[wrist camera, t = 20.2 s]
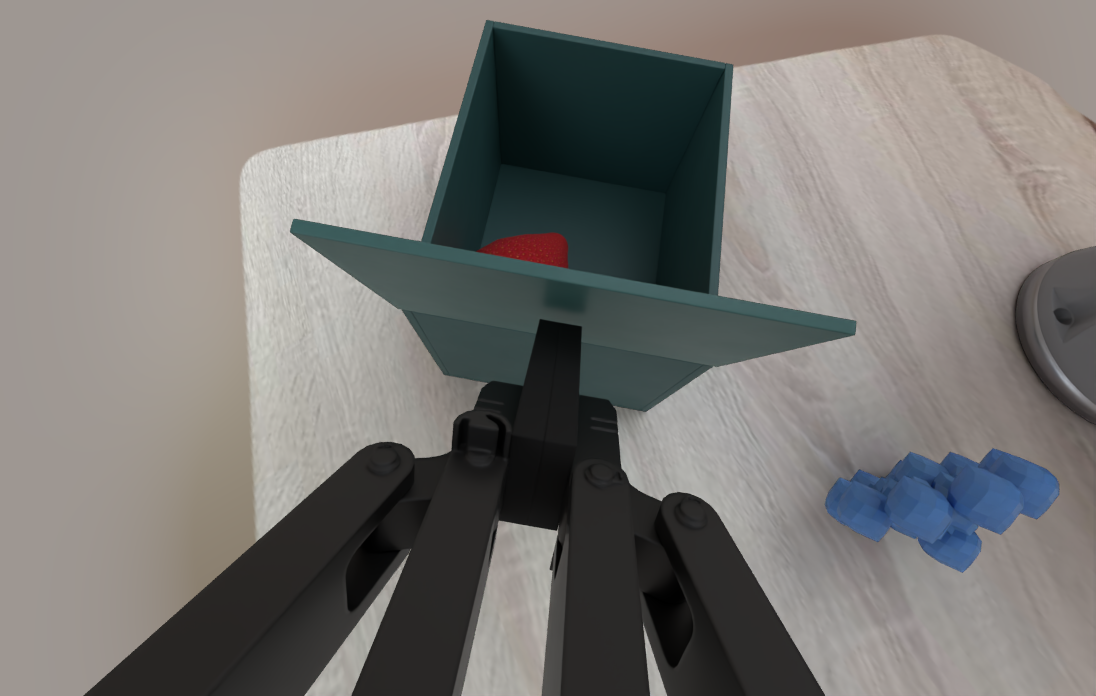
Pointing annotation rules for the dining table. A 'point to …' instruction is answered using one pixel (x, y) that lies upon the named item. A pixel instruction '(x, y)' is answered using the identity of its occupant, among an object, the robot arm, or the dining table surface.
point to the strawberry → (532, 248)
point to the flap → (567, 299)
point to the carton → (584, 188)
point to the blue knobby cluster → (944, 501)
